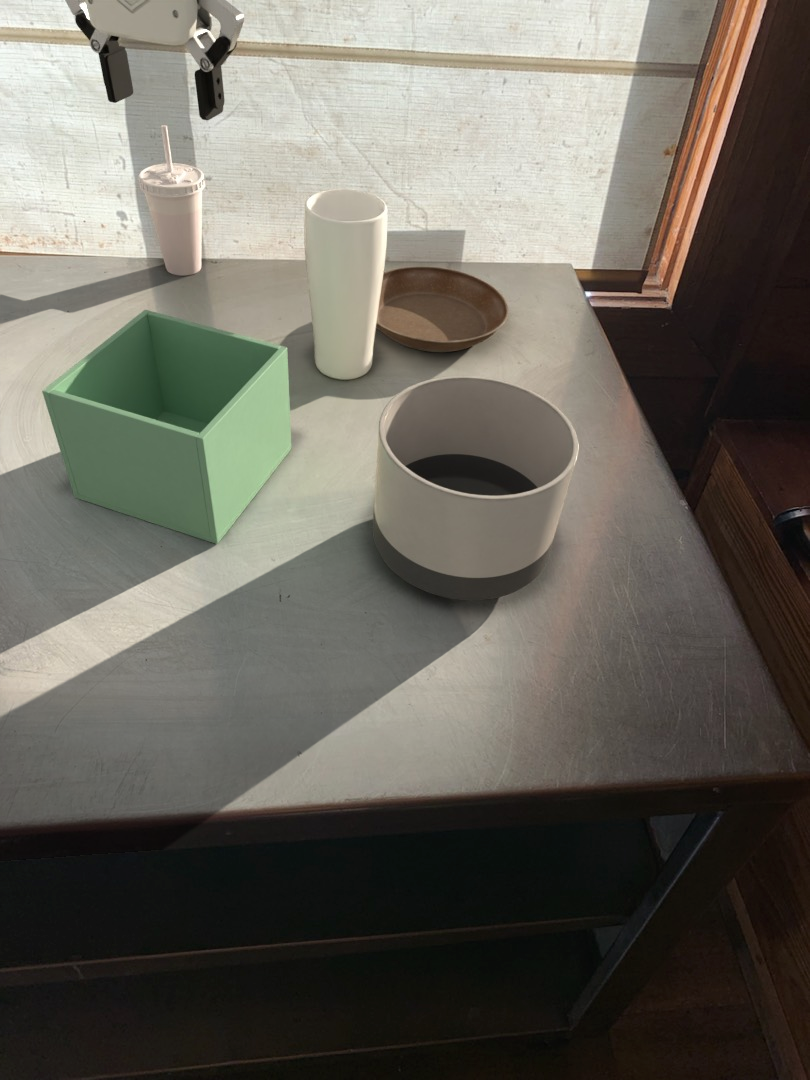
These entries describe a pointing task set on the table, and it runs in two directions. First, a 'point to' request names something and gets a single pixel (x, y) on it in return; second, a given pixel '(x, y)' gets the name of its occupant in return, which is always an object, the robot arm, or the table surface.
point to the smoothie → (175, 210)
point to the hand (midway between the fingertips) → (166, 107)
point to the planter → (470, 485)
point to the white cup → (344, 277)
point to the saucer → (438, 308)
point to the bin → (173, 423)
